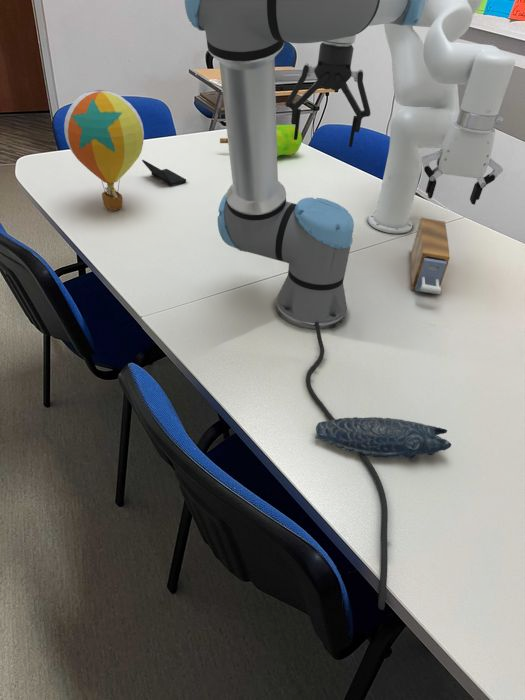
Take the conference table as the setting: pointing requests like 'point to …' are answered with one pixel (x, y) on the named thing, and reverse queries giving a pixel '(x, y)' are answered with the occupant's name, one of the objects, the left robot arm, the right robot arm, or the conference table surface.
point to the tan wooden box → (428, 246)
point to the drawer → (430, 275)
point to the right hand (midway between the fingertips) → (450, 199)
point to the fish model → (382, 436)
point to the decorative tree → (283, 140)
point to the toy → (105, 138)
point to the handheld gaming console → (165, 175)
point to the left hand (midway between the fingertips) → (322, 141)
